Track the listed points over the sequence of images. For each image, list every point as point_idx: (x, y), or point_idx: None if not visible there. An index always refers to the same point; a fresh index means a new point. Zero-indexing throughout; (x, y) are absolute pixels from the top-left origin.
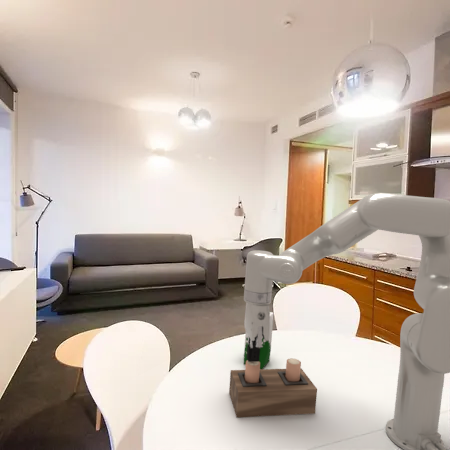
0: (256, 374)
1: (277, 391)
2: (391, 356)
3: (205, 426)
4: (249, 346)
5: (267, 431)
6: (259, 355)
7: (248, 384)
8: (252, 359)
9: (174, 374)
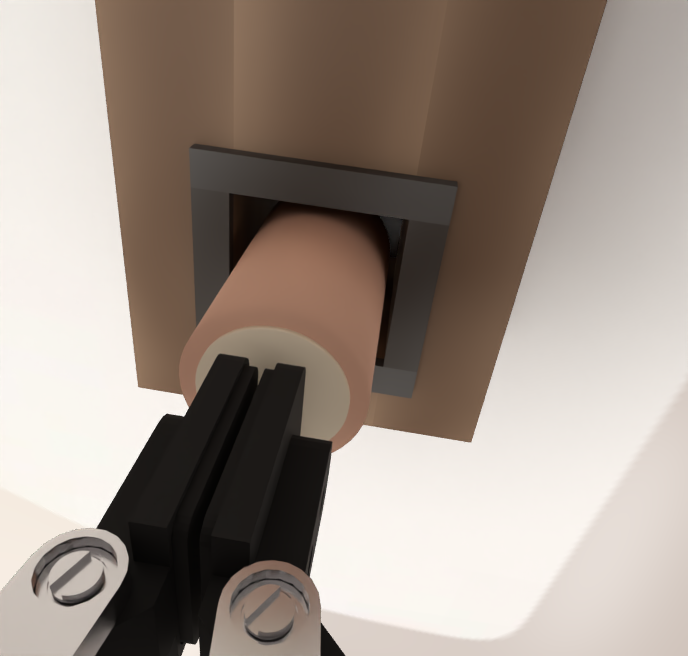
0: (376, 317)
1: (577, 88)
2: None
3: (478, 476)
4: (185, 640)
5: (663, 193)
6: (286, 420)
7: (405, 352)
8: (326, 485)
9: (27, 491)
